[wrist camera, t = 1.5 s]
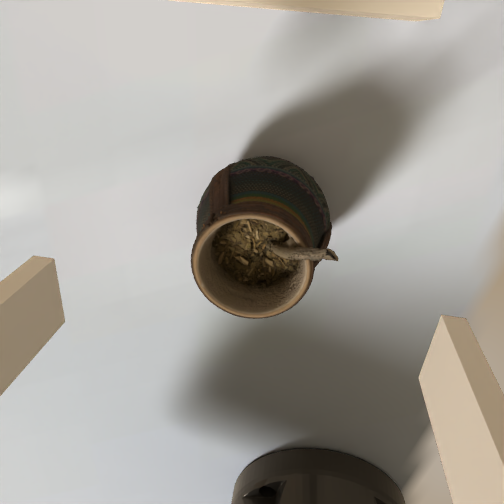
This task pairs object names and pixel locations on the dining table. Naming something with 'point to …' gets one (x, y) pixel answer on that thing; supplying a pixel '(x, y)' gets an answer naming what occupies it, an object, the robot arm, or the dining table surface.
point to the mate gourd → (260, 237)
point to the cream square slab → (347, 7)
